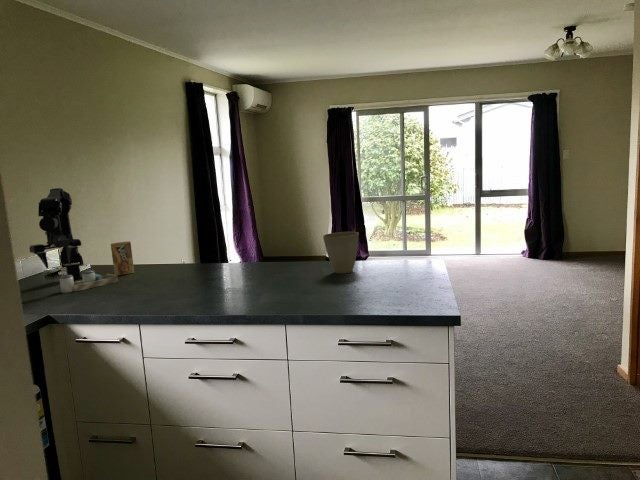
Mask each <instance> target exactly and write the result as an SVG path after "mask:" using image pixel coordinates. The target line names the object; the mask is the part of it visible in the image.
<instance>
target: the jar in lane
mask: <svg viewBox="0 0 640 480" xmlns="http://www.w3.org/2000/svg"><path fill="white" fill-rule="evenodd" d="M95 274H96V273H95V270H94V269H93V270H89V269H88V270H84V271H81V276H82V278H81V279H82V280H83V284H84V283H89V282H93V281H96V277H95Z"/></svg>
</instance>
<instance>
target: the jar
mask: <svg viewBox="0 0 640 480" xmlns="http://www.w3.org/2000/svg"><path fill="white" fill-rule="evenodd" d="M74 282H75V280H73V276H72V275H67V274H65V275H60V276H59V285H60V286H59V287H60V292H61V293H62V294H67V293H71V292H74V288H73V286H74Z"/></svg>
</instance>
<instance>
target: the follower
mask: <svg viewBox="0 0 640 480" xmlns="http://www.w3.org/2000/svg"><path fill="white" fill-rule="evenodd" d="M102 276H103V275H102V274H97V273H95V277H96V281H98V280H102Z"/></svg>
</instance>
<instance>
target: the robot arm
mask: <svg viewBox="0 0 640 480" xmlns="http://www.w3.org/2000/svg"><path fill="white" fill-rule="evenodd" d="M72 200H73V199H72V196H71V194H70V193H69V192H67V191H65V190H64V189H63V188H61V187H60V188H59V187H58V188H57V187H56V188H51V189H49V194H48V195H47V197H44V198H41V199H40V201H39V202H38V213H37V214H38V215H37V216H38V217H42V218H41V219H40V220H39V221H38V225H39V229H41V230H42V231H44V234H45V236H46V244H39V243H37V244H33V245H31V244H30V246H29V252H30V253H31V254H33V255H37V257H38V258H39V259H40V260H41V262H42V263H43V265H44V267H45V268H46V269H49V262H48V258H47V252H46V250H52V249H61V251H60V256H59V260H60V261H59V262H60V265H61V268H62V269H64V268H65V270H66V275H72V276H73V280H74V281H75V280H80V279H82V274H81V269H80V267H81V266H84V265H85V263H84V260H83V255H81V253H80V251H79V247H81V246H82V241H81V240H80V239H79V238H74V237H73V233H72V228H71V227H72V226H71V219H70V212H71V210H72V205H73V201H72Z"/></svg>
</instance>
